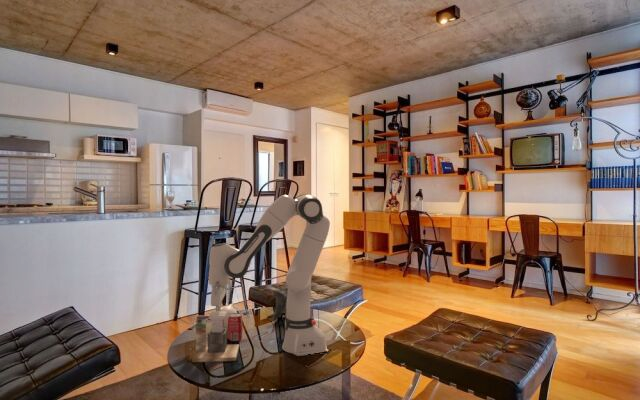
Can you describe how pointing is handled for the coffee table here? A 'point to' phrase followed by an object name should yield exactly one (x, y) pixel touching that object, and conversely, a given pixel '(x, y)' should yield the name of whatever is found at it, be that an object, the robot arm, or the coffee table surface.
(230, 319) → the soda can
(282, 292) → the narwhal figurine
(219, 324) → the boxy square bracket
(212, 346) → the stand
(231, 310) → the cat head
